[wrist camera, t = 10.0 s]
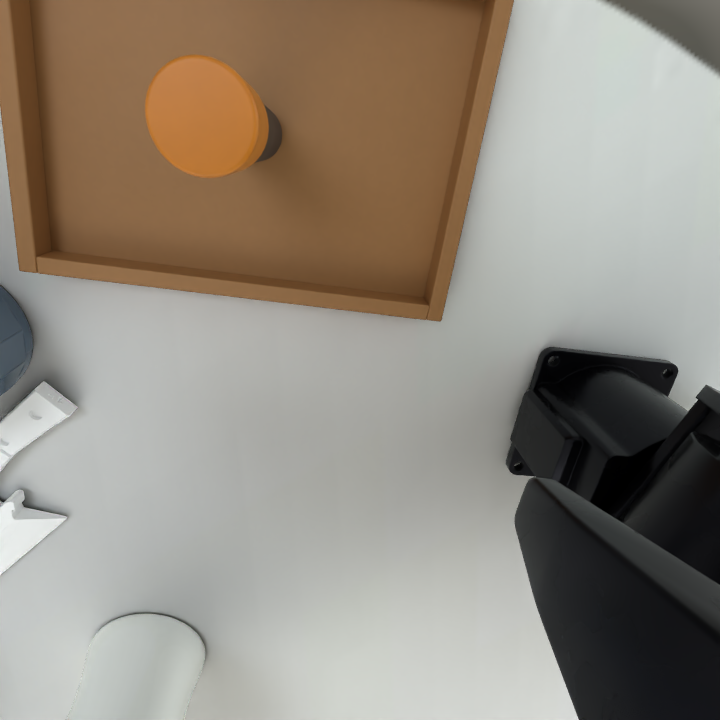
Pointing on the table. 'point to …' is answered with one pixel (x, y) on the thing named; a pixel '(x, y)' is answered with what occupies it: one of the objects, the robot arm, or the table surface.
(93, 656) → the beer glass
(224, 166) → the cylinder
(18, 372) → the pen cup
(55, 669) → the table surface
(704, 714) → the robot arm
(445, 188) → the brown flat rectangular frame
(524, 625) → the table surface
